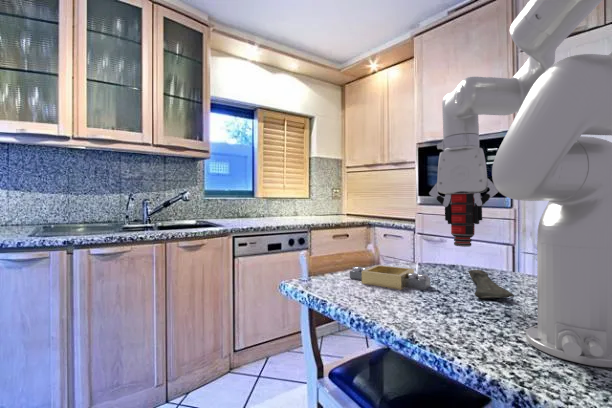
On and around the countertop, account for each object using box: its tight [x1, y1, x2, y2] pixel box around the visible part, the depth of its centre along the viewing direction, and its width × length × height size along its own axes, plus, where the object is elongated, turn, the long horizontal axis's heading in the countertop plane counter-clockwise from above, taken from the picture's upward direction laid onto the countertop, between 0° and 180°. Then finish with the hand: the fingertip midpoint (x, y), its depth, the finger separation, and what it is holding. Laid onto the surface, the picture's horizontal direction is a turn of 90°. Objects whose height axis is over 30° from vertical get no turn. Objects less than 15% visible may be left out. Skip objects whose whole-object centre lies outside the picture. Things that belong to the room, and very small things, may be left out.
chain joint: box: [349, 264, 431, 291], centre depth 87 cm, size 10×21×4 cm, turn 56°
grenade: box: [450, 191, 476, 248], centre depth 76 cm, size 6×5×15 cm
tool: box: [468, 269, 515, 299], centre depth 81 cm, size 21×8×3 cm, turn 166°
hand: (463, 223), depth 75 cm, fingers closed on grenade, 4 cm apart
